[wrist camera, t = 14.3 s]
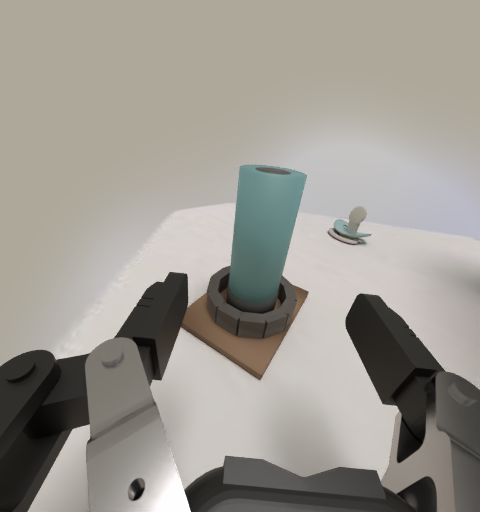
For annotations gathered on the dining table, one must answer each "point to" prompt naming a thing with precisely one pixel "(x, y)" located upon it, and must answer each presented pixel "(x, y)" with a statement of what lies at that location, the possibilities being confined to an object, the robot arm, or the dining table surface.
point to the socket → (243, 323)
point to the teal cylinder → (262, 235)
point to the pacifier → (350, 227)
